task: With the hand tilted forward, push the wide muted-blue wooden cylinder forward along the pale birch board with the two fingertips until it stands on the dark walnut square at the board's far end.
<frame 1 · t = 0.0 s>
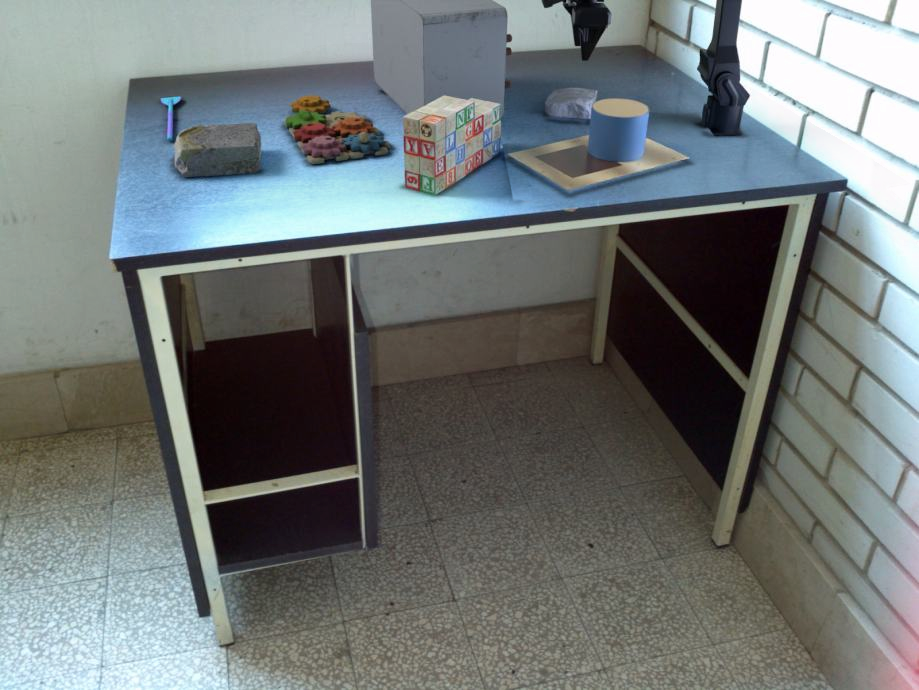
hand: (581, 53, 162), 15 cm above the table, tool pointing down, fingers open, 9 cm apart
blue scraper: (171, 119, 173), on the table
vintage electronic device: (440, 107, 181), on the table
stone block: (569, 113, 179), on the table
birch board: (597, 161, 158), on the table
stack of blocks: (454, 171, 154), on the table
geological specimen: (219, 165, 155), on the table
gear puzzle: (331, 132, 169), on the table
blue cylinder: (615, 151, 159), point 1 cm above the table, touching birch board
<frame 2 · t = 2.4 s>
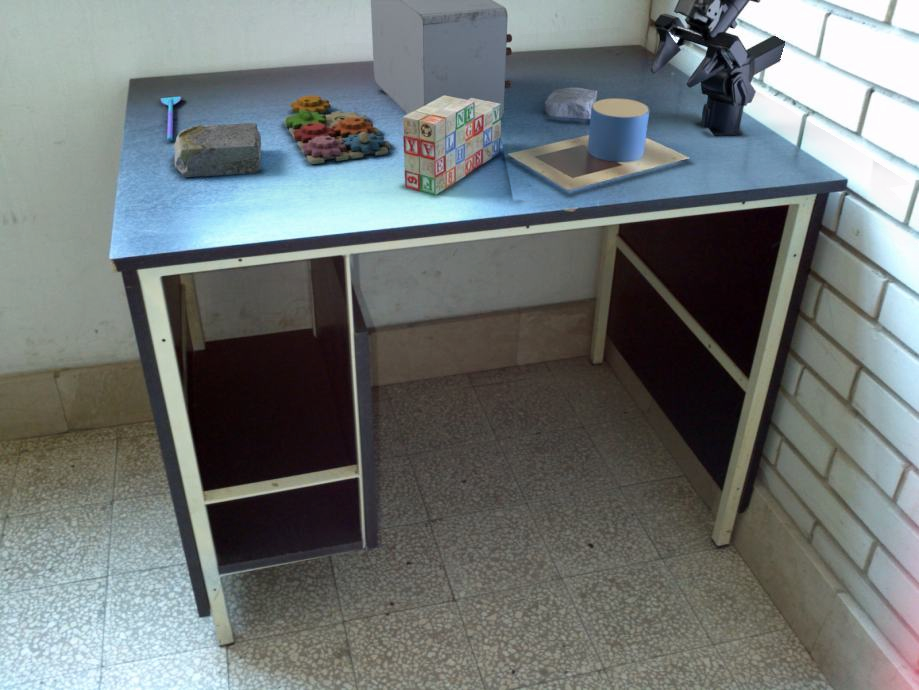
hand: (669, 78, 158), 12 cm above the table, tool tilted 45°, fingers open, 9 cm apart
nothing on the table moved.
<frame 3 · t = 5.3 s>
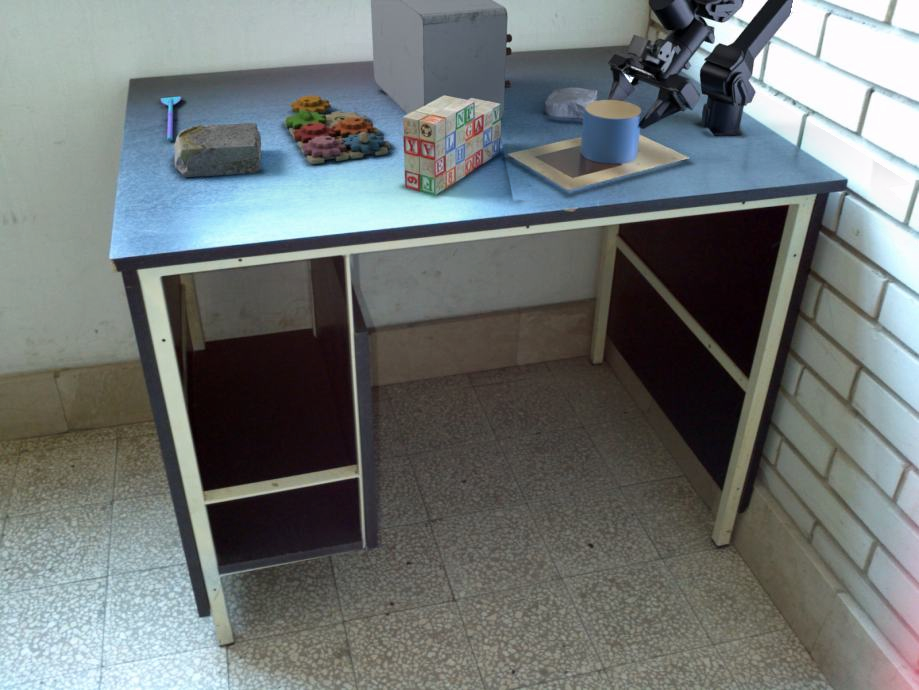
hand: (622, 119, 156), 7 cm above the table, tool tilted 45°, fingers open, 9 cm apart
blue cylinder: (608, 153, 158), point 1 cm above the table, touching birch board, gripper
everything else where it was.
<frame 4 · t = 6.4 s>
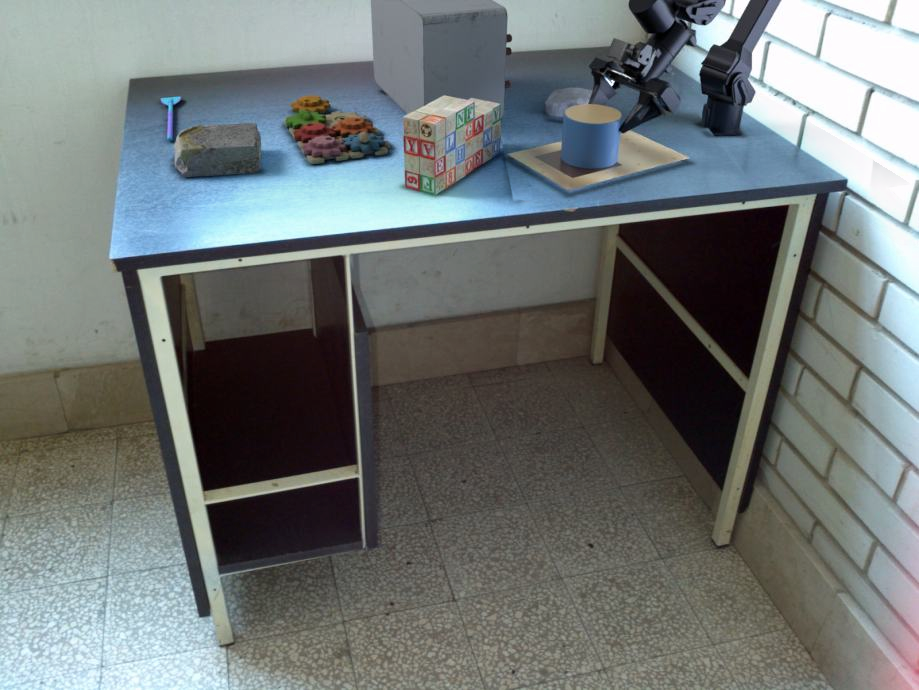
hand: (603, 123, 154), 7 cm above the table, tool tilted 45°
blue cylinder: (588, 157, 156), point 1 cm above the table, touching gripper
everything else where it was.
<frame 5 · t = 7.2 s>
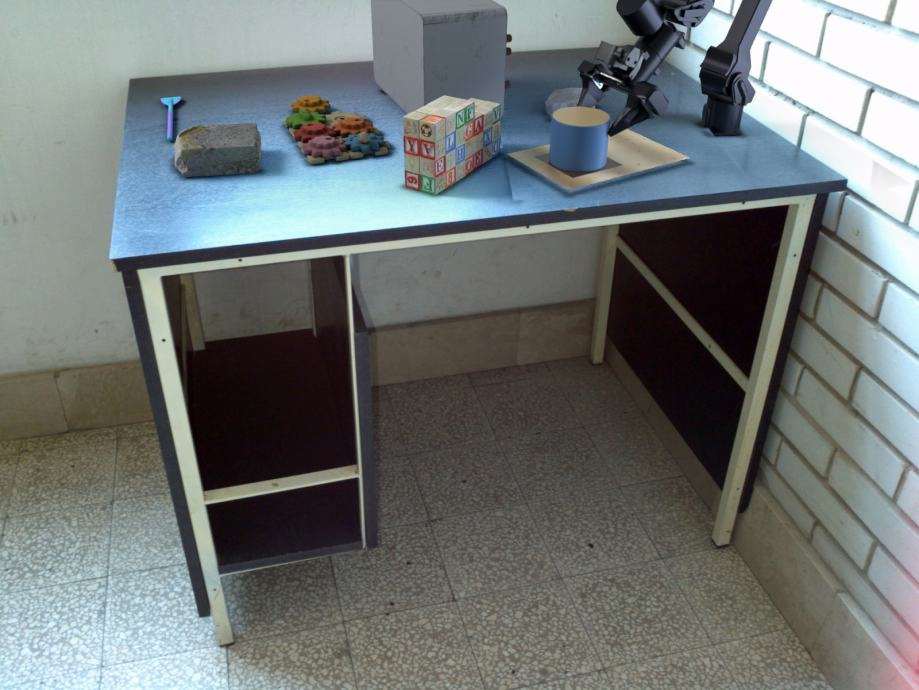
hand: (591, 126, 153), 7 cm above the table, tool tilted 45°
blue cylinder: (577, 160, 155), point 1 cm above the table, touching birch board, gripper
everything else where it was.
when the fingers open (7 cm above the table, at t = 7.7 s): blue cylinder stays where it is, resting on birch board.
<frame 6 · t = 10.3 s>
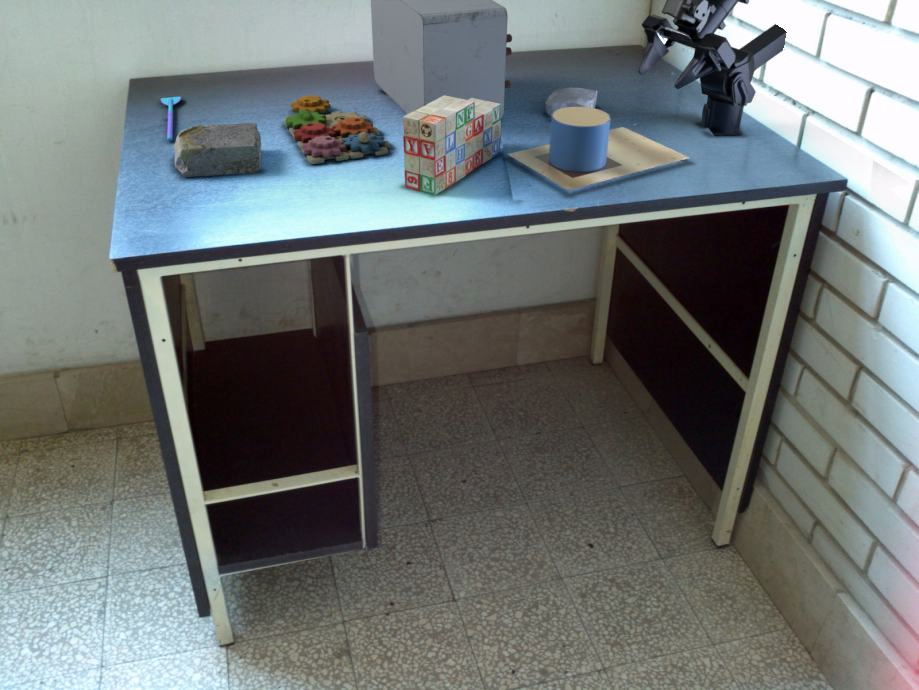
hand: (657, 80, 156), 13 cm above the table, tool tilted 45°, fingers open, 9 cm apart
blue cylinder: (577, 160, 155), point 1 cm above the table, touching birch board
everything else where it was.
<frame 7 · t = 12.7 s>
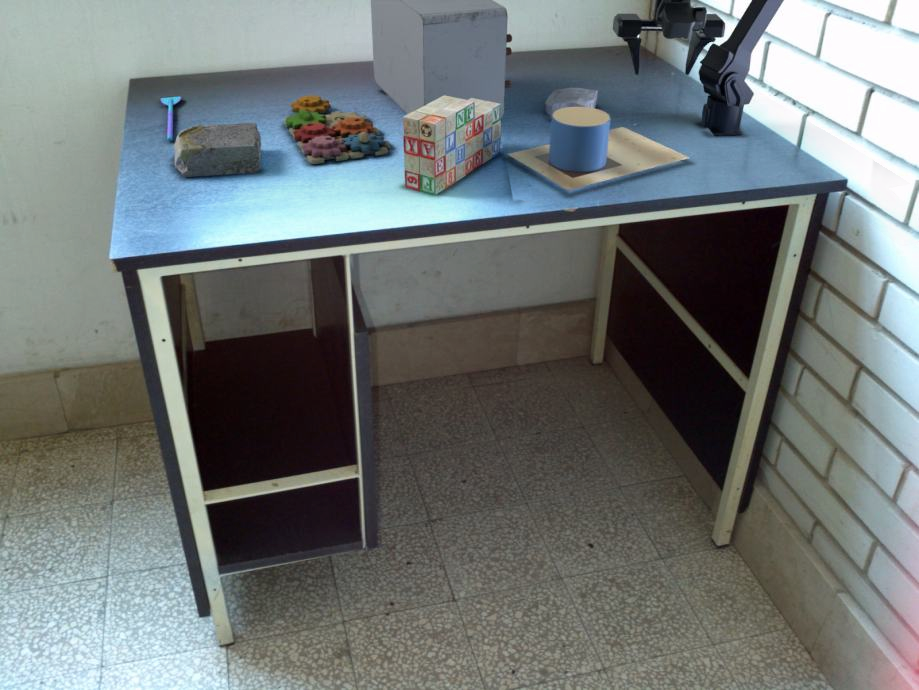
hand: (661, 74, 161), 12 cm above the table, tool pointing down, fingers open, 9 cm apart
nothing on the table moved.
at the end: blue cylinder 0.2 cm from the target spot, point 1.0 cm above the table; blue cylinder moved 8.7 cm from its start; blue cylinder tilted 0° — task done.
